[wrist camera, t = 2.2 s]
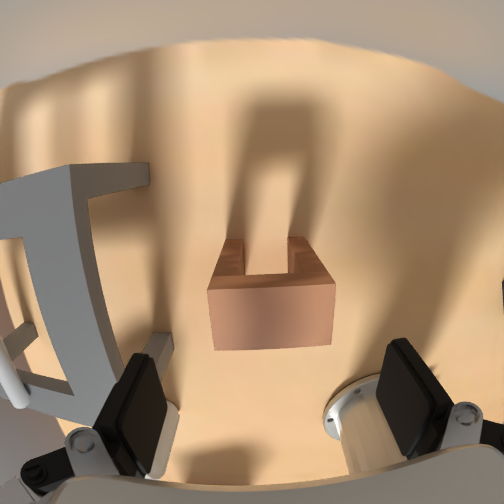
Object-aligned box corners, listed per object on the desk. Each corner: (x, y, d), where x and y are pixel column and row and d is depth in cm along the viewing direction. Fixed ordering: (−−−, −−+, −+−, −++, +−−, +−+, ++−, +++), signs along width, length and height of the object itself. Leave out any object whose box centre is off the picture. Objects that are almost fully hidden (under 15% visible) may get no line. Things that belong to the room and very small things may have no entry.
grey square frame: (148, 162, 24) (46, 165, 10) (174, 348, 30) (133, 455, 16) (-5, 194, 25) (-93, 219, 11) (28, 334, 30) (-33, 395, 16)
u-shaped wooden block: (304, 236, 26) (335, 283, 16) (303, 278, 27) (331, 344, 17) (225, 240, 26) (207, 289, 16) (228, 282, 28) (214, 350, 17)
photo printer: (137, 432, 34) (113, 497, 23) (115, 414, 33) (85, 479, 22) (186, 413, 33) (167, 492, 21) (162, 392, 32) (134, 472, 20)
